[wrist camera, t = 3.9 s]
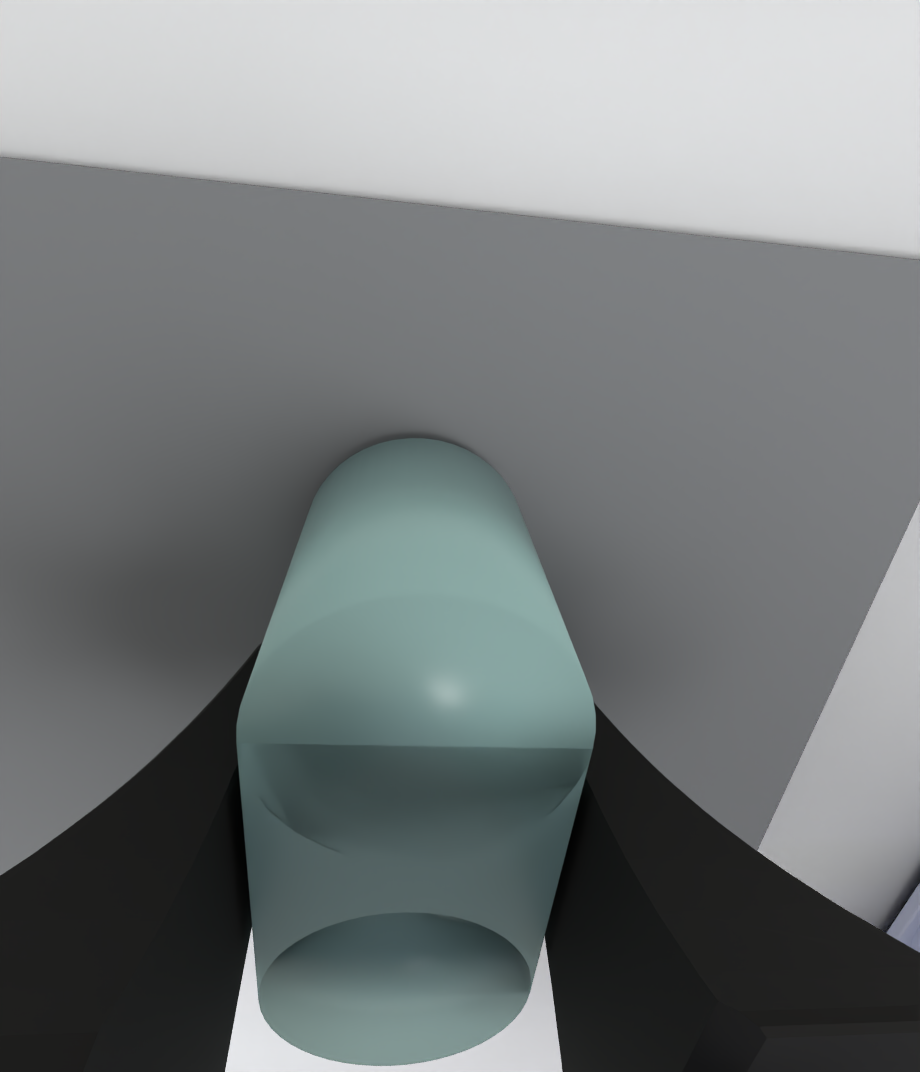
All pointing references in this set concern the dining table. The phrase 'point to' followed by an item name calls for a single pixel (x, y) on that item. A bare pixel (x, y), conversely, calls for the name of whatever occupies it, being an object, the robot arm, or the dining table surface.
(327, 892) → the teal plug
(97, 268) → the charcoal mat
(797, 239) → the dining table surface
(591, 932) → the robot arm
